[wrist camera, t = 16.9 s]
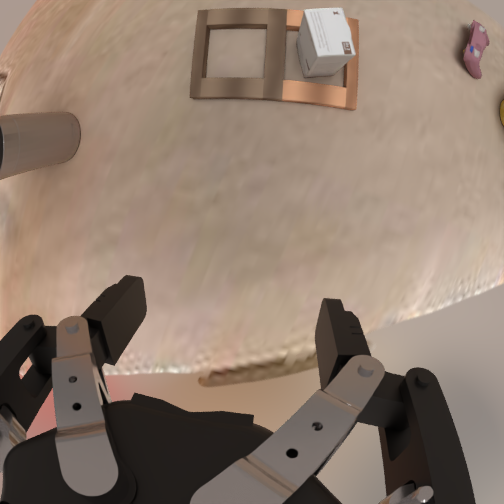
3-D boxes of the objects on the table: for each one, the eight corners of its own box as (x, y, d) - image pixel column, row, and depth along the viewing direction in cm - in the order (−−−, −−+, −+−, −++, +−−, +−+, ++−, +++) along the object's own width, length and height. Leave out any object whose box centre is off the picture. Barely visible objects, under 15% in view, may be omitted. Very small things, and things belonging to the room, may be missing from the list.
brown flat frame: (193, 99, 35) (189, 97, 33) (201, 15, 30) (198, 10, 28) (352, 110, 34) (356, 109, 32) (355, 24, 28) (358, 19, 26)
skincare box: (294, 42, 31) (299, 6, 20) (326, 39, 30) (342, 4, 19) (304, 80, 33) (313, 57, 22) (336, 77, 32) (357, 54, 21)
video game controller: (466, 31, 25) (470, 11, 19) (488, 44, 24) (495, 25, 18) (455, 69, 29) (460, 50, 23) (478, 83, 27) (487, 66, 22)
